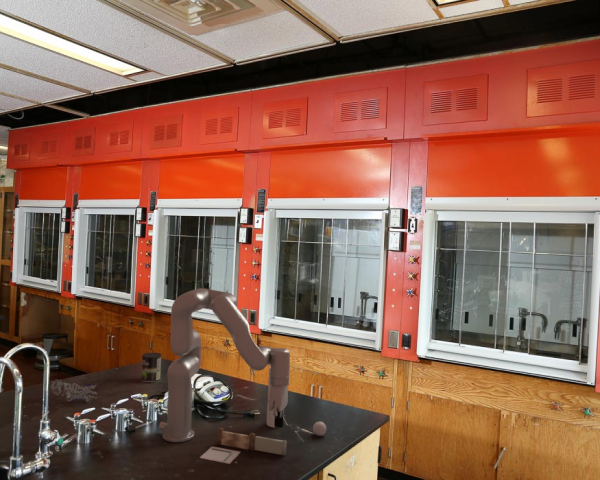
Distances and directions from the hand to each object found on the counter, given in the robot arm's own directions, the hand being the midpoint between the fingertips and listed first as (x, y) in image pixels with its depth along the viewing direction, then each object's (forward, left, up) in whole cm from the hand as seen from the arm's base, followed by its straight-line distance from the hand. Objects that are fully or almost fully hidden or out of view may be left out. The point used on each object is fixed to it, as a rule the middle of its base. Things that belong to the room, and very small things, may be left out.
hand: (278, 426), depth 192 cm
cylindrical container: (-9, +21, -8) cm, 24 cm away
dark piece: (-106, +10, -8) cm, 106 cm away
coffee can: (-92, +52, -8) cm, 106 cm away
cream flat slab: (-1, -6, -8) cm, 10 cm away
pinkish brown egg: (+13, +18, -8) cm, 24 cm away
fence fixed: (-15, -6, -8) cm, 18 cm away
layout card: (-18, -15, -8) cm, 25 cm away
